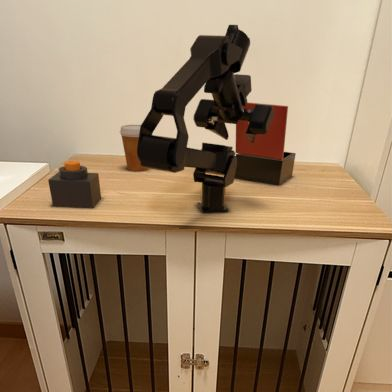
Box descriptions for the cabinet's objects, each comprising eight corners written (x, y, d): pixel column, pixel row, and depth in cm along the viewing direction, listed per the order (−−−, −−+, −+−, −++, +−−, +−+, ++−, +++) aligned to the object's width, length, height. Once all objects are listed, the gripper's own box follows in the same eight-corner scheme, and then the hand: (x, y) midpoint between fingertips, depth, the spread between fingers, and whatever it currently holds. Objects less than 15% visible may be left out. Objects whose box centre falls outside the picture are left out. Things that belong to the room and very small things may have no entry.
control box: (101, 198, 106) (97, 165, 102) (93, 208, 100) (88, 173, 95) (63, 196, 107) (57, 163, 102) (52, 206, 100) (46, 171, 96)
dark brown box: (249, 169, 135) (251, 147, 131) (292, 176, 130) (295, 153, 126) (234, 178, 126) (235, 154, 122) (279, 185, 121) (282, 160, 117)
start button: (82, 168, 100) (81, 161, 99) (78, 172, 97) (77, 164, 96) (68, 168, 100) (66, 160, 99) (63, 171, 97) (62, 163, 96)
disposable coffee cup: (157, 170, 131) (156, 128, 124) (130, 173, 127) (127, 130, 120) (143, 163, 138) (141, 123, 130) (117, 167, 133) (114, 125, 126)
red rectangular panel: (237, 101, 112) (236, 102, 112) (288, 105, 107) (287, 106, 107) (236, 152, 122) (235, 153, 121) (283, 158, 117) (282, 159, 116)
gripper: (277, 61, 87) (285, 115, 102) (200, 58, 94) (218, 108, 108) (259, 107, 86) (270, 155, 101) (183, 100, 93) (203, 146, 108)
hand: (240, 139), depth 104 cm, fingers open, 7 cm apart
